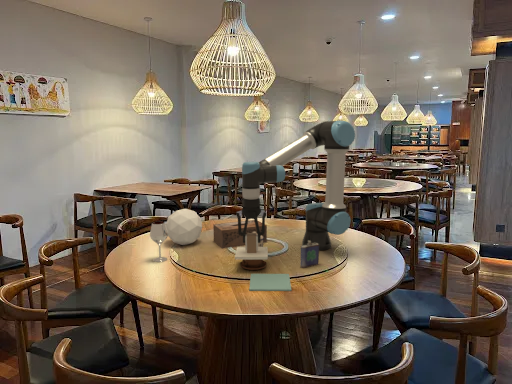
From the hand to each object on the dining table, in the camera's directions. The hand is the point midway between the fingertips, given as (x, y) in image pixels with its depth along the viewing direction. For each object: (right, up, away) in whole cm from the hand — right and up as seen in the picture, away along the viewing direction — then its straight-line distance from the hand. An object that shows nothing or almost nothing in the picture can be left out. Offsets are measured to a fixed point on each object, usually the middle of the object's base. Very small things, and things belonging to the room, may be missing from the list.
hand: (251, 249), depth 166 cm
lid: (0, -2, +1) cm, 2 cm away
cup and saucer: (+1, -9, +2) cm, 9 cm away
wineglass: (-44, -7, +12) cm, 46 cm away
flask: (+26, -8, +4) cm, 27 cm away
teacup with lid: (+1, -6, +20) cm, 21 cm away
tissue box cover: (-7, -3, +41) cm, 42 cm away
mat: (+8, -11, -16) cm, 21 cm away
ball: (-37, -3, +39) cm, 54 cm away
